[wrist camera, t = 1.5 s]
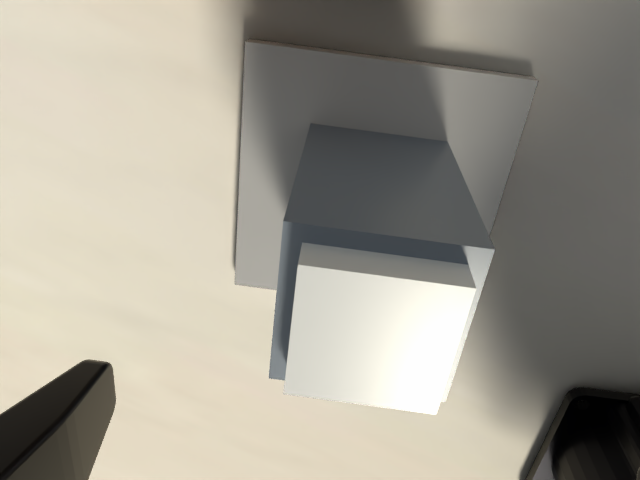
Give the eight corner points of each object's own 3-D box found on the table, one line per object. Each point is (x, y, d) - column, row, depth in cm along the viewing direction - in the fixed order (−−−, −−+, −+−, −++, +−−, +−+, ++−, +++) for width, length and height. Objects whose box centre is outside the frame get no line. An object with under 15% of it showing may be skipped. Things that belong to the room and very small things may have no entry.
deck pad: (462, 306, 19) (464, 315, 18) (237, 276, 19) (234, 284, 18) (533, 76, 15) (538, 80, 14) (248, 38, 15) (244, 41, 14)
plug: (419, 258, 17) (450, 430, 11) (297, 242, 17) (262, 405, 11) (447, 141, 15) (505, 272, 9) (310, 123, 15) (277, 242, 9)
